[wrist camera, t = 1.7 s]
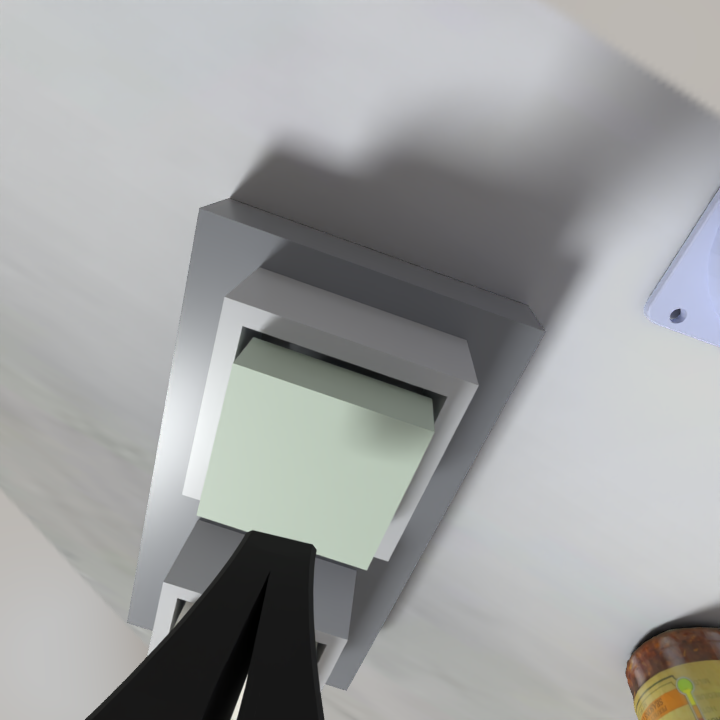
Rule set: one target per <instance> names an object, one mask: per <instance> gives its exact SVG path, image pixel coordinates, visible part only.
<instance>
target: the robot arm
mask: <svg viewBox="0 0 720 720" xmlns="http://www.w3.org/2000/svg"><path fill="white" fill-rule="evenodd" d="M676 309H681V312H680V315H679V316H678V317H677V318H675V319H670V318H669V317H670V314H671V313H672V312H673V311H674V310H676ZM644 314H645V316H646V318H647V319H649V320H650V321H651V322H653V323H655V324H657V325H660V326H663V327H665V328H668V329H671V330H674V331H676V332H679V333H682V334H685V335H687V336H690V337H693V338H696V339H698V340H701V341H704V342H707V343H709V344H712V345H715V346H718V347H720V188H719V190H718V191H717V193H716V194H715V196H714V197H713V199H712V201H711V202H710V204H709V205H708V207H707V208H706V210H705V212H704V213H703V215H702V216H701V218H700V219H699V221H698V222H697V224H696V226H695V227H694V229H693V230H692V232H691V233H690V235H689V237H688V238H687V240H686V241H685V243H684V244H683V246H682V247H681V249H680V251H679V252H678V254H677V255H676V257H675V258H674V260H673V262H672V263H671V265H670V266H669V268H668V269H667V271H666V272H665V274H664V276H663V277H662V279H661V280H660V282H659V283H658V285H657V287H656V288H655V290H654V291H653V293H652V294H651V296H650V297H649V299H648V301H647V302H646V304H645V307H644ZM316 552H317V549H316V548H315V547H314V546H313V544H309V543H305V542H301V541H297V540H292V539H288V538H284V537H280V536H276V535H271V534H267V533H263V532H259V531H255V530H251V531H249V532H247V533H246V534H245V536H244V537H243V539H242V541H241V542H240V544H239V545H238V547H237V548H236V550H235V551H234V553H233V554H232V556H231V557H230V559H229V560H228V561H227V563H226V564H225V565H224V567H223V568H222V569H221V571H220V572H219V573H218V575H217V576H216V577H215V579H214V580H213V581H212V582H211V584H210V585H209V586H208V588H207V589H206V590H205V591H204V592H203V594H202V595H201V596H200V597H199V598H198V600H197V601H196V602H195V603H194V604H193V606H192V607H191V608H190V609H189V610H188V612H187V613H186V614H185V615H184V616H183V618H182V619H181V620H180V621H179V622H178V623H177V625H176V626H175V627H174V628H173V629H172V630H171V631H170V633H169V634H168V635H167V636H166V637H165V638H164V639H163V640H162V641H161V642H160V643H159V644H158V645H157V647H156V648H155V649H154V650H153V651H152V652H151V653H150V654H149V655H148V656H147V657H146V658H145V660H144V661H143V662H142V663H141V664H140V665H139V666H138V667H137V668H136V669H135V670H134V671H133V672H132V673H131V675H130V676H129V677H128V678H127V679H126V680H125V681H124V682H123V683H122V684H121V685H120V686H119V687H118V688H117V689H116V690H115V691H114V692H113V693H112V694H111V695H110V696H109V697H108V698H107V699H106V700H105V701H104V702H103V703H102V704H101V705H100V706H99V707H98V708H97V709H95V710H94V711H93V713H91V714H90V715H89V716H88V717H87V718H86V719H85V720H231V717H232V715H233V712H234V710H235V707H236V704H237V702H238V699H239V696H240V694H241V691H242V688H243V686H244V683H245V680H246V678H247V681H246V686H245V690H244V693H243V697H242V701H241V705H240V709H239V713H238V717H237V720H324V714H323V707H322V699H321V692H320V683H319V675H318V665H317V653H316V641H315V628H314V598H313V588H314V567H315V558H316ZM247 675H248V676H247Z"/></svg>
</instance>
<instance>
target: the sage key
mask: <svg viewBox="0 0 720 720" xmlns="http://www.w3.org/2000/svg"><path fill="white" fill-rule="evenodd" d="M434 433H435V428H434V415H433V402H432V398H429V397H426V396H423V395H420V394H417V393H414V392H412V391H409V390H406V389H403V388H400V387H397V386H394V385H391V384H388V383H385V382H383V381H380V380H377V379H374V378H371V377H368V376H365V375H362V374H359V373H356V372H354V371H351V370H348V369H345V368H342V367H339V366H336V365H333V364H330V363H327V362H325V361H322V360H319V359H316V358H313V357H310V356H307V355H304V354H301V353H298V352H296V351H293V350H290V349H287V348H284V347H281V346H278V345H275V344H272V343H269V342H267V341H264V340H261V339H258V338H255V337H253V338H252V339H251V341H250V342H249V343H248V345H247V346H246V347H245V348H244V350H243V351H242V352H241V353H240V355H239V356H238V357H237V358H236V360H235V361H234V362H233V365H232V369H231V373H230V377H229V381H228V385H227V390H226V394H225V398H224V402H223V406H222V411H221V415H220V419H219V423H218V427H217V431H216V436H215V440H214V444H213V448H212V452H211V457H210V461H209V465H208V469H207V473H206V477H205V482H204V486H203V490H202V494H201V498H200V503H199V507H198V511H197V516H200V517H203V518H206V519H209V520H212V521H215V522H218V523H221V524H225V525H228V526H231V527H234V528H237V529H240V530H243V531H246V532H249V531H251V530H255V531H259V532H263V533H267V534H271V535H276V536H280V537H284V538H288V539H292V540H297V541H301V542H305V543H309V544H313V546H314V547H315V548H316V549H317V552H316V554H317V555H321V556H324V557H327V558H330V559H333V560H336V561H339V562H342V563H345V564H348V565H351V566H355V567H358V568H361V569H364V570H367V569H368V567H369V565H370V563H371V561H372V559H373V557H374V555H375V553H376V551H377V549H378V547H379V545H380V543H381V541H382V539H383V537H384V534H385V532H386V530H387V528H388V526H389V524H390V522H391V520H392V518H393V516H394V514H395V512H396V510H397V508H398V506H399V504H400V502H401V500H402V498H403V496H404V494H405V492H406V490H407V488H408V486H409V484H410V482H411V480H412V477H413V475H414V473H415V471H416V469H417V467H418V465H419V463H420V461H421V459H422V457H423V455H424V453H425V451H426V449H427V447H428V445H429V443H430V441H431V439H432V437H433V435H434Z"/></svg>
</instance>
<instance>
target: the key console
mask: <svg viewBox="0 0 720 720" xmlns="http://www.w3.org/2000/svg"><path fill="white" fill-rule="evenodd" d="M545 332H546V331H545V330H544V329H543V327H542V326H541V324H540V323H539V321H538V320H537V318H536V317H535V315H534V314H533V312H532V311H531V310H530V308H529V307H528V306H527V305H525V304H522V303H519V302H516V301H514V300H511V299H508V298H505V297H502V296H500V295H497V294H494V293H491V292H489V291H486V290H483V289H480V288H477V287H475V286H472V285H469V284H466V283H463V282H461V281H458V280H455V279H452V278H450V277H447V276H444V275H441V274H438V273H436V272H433V271H430V270H427V269H424V268H422V267H419V266H416V265H413V264H411V263H408V262H405V261H402V260H399V259H397V258H394V257H391V256H388V255H386V254H383V253H380V252H377V251H374V250H372V249H369V248H366V247H363V246H360V245H358V244H355V243H352V242H349V241H347V240H344V239H341V238H338V237H335V236H333V235H330V234H327V233H324V232H322V231H319V230H316V229H313V228H310V227H308V226H305V225H302V224H299V223H296V222H294V221H291V220H288V219H285V218H283V217H280V216H277V215H274V214H271V213H269V212H266V211H263V210H260V209H258V208H255V207H252V206H249V205H246V204H244V203H241V202H238V201H235V200H232V199H230V198H228V199H225V200H222V201H219V202H216V203H213V204H210V205H207V206H204V207H201V208H199V213H198V219H197V225H196V230H195V236H194V242H193V248H192V253H191V259H190V265H189V271H188V276H187V282H186V288H185V293H184V299H183V305H182V311H181V316H180V322H179V328H178V334H177V339H176V345H175V351H174V357H173V362H172V368H171V374H170V380H169V385H168V391H167V397H166V402H165V408H164V414H163V420H162V425H161V431H160V437H159V443H158V448H157V454H156V460H155V466H154V471H153V477H152V483H151V489H150V494H149V500H148V506H147V511H146V517H145V523H144V529H143V534H142V540H141V546H140V552H139V557H138V563H137V569H136V575H135V580H134V586H133V592H132V597H131V603H130V609H129V615H128V620H127V623H129V624H132V625H136V626H139V627H142V628H145V629H149V630H152V631H153V632H152V637H151V641H150V646H149V651H148V655H149V654H150V653H151V652H152V651H153V650H154V649H155V648H156V647H157V645H158V644H159V643H160V642H161V641H162V640H163V639H164V638H165V637H166V636H167V635H168V634H169V633H170V631H171V630H172V629H173V628H174V626H175V623H176V621H177V619H178V617H179V615H180V613H181V611H182V609H183V607H184V605H185V603H186V601H188V602H191V603H195V602H196V601H197V600H198V598H199V597H200V596H201V595H202V594H203V592H204V591H205V590H206V589H207V588H208V586H209V585H210V584H211V582H212V581H213V580H214V579H215V577H216V576H217V575H218V573H219V572H220V571H221V569H222V568H223V567H224V565H225V564H226V563H227V561H228V560H229V559H230V557H231V556H232V554H233V553H234V551H235V550H236V548H237V547H238V545H239V544H240V542H241V541H242V539H243V537H244V536H245V534H246V533H247V532H246V531H243V530H240V529H237V528H234V527H231V526H228V525H225V524H221V523H218V522H215V521H212V520H209V519H206V518H203V517H200V516H197V511H198V507H199V503H200V498H201V494H202V490H203V486H204V482H205V477H206V473H207V469H208V465H209V461H210V457H211V452H212V448H213V444H214V440H215V436H216V431H217V427H218V423H219V419H220V415H221V411H222V406H223V402H224V398H225V394H226V390H227V385H228V381H229V377H230V373H231V369H232V365H233V362H234V361H235V360H236V358H237V357H238V356H239V355H240V353H241V352H242V351H243V350H244V348H245V347H246V346H247V345H248V343H249V342H250V341H251V339H252V338H253V337H255V338H258V339H261V340H264V341H267V342H269V343H272V344H275V345H278V346H281V347H284V348H287V349H290V350H293V351H296V352H298V353H301V354H304V355H307V356H310V357H313V358H316V359H319V360H322V361H325V362H327V363H330V364H333V365H336V366H339V367H342V368H345V369H348V370H351V371H354V372H356V373H359V374H362V375H365V376H368V377H371V378H374V379H377V380H380V381H383V382H385V383H388V384H391V385H394V386H397V387H400V388H403V389H406V390H409V391H412V392H414V393H417V394H420V395H423V396H426V397H429V398H432V402H433V415H434V428H435V433H434V435H433V437H432V439H431V441H430V443H429V445H428V447H427V449H426V451H425V453H424V455H423V457H422V459H421V461H420V463H419V465H418V467H417V469H416V471H415V473H414V475H413V477H412V480H411V482H410V484H409V486H408V488H407V490H406V492H405V494H404V496H403V498H402V500H401V502H400V504H399V506H398V508H397V510H396V512H395V514H394V516H393V518H392V520H391V522H390V524H389V526H388V528H387V530H386V532H385V534H384V537H383V539H382V541H381V543H380V545H379V547H378V549H377V551H376V553H375V555H374V557H373V559H372V561H371V563H370V565H369V567H368V569H367V570H364V569H361V568H358V567H355V566H351V565H348V564H345V563H342V562H339V561H336V560H333V559H330V558H327V557H324V556H321V555H317V554H316V558H315V567H314V588H313V598H314V628H315V641H316V642H318V644H317V649H316V653H317V665H318V675H319V683H320V692H321V691H322V689H323V687H324V685H325V684H327V685H330V686H333V687H336V688H340V689H343V690H346V691H347V689H348V687H349V685H350V684H351V682H352V680H353V678H354V676H355V675H356V673H357V671H358V669H359V667H360V666H361V664H362V662H363V660H364V658H365V657H366V655H367V653H368V651H369V649H370V647H371V646H372V644H373V642H374V640H375V638H376V637H377V635H378V633H379V631H380V629H381V628H382V626H383V624H384V622H385V620H386V619H387V617H388V615H389V613H390V611H391V610H392V608H393V606H394V604H395V602H396V601H397V599H398V597H399V595H400V593H401V592H402V590H403V588H404V586H405V584H406V583H407V581H408V579H409V577H410V575H411V574H412V572H413V570H414V568H415V566H416V565H417V563H418V561H419V559H420V557H421V556H422V554H423V552H424V550H425V548H426V547H427V545H428V543H429V541H430V539H431V538H432V536H433V534H434V532H435V530H436V529H437V527H438V525H439V523H440V521H441V520H442V518H443V516H444V514H445V512H446V511H447V509H448V507H449V505H450V503H451V502H452V500H453V498H454V496H455V494H456V493H457V491H458V489H459V487H460V485H461V484H462V482H463V480H464V478H465V476H466V475H467V473H468V471H469V469H470V467H471V466H472V464H473V462H474V460H475V458H476V457H477V455H478V453H479V451H480V449H481V448H482V446H483V444H484V442H485V440H486V439H487V437H488V435H489V433H490V431H491V430H492V428H493V426H494V424H495V422H496V420H497V419H498V417H499V415H500V413H501V411H502V410H503V408H504V406H505V404H506V402H507V401H508V399H509V397H510V395H511V393H512V392H513V390H514V388H515V386H516V384H517V383H518V381H519V379H520V377H521V375H522V374H523V372H524V370H525V368H526V366H527V365H528V363H529V361H530V359H531V357H532V356H533V354H534V352H535V350H536V348H537V347H538V345H539V343H540V341H541V339H542V338H543V336H544V334H545ZM148 655H147V656H148Z"/></svg>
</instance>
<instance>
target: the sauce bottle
mask: <svg viewBox="0 0 720 720" xmlns="http://www.w3.org/2000/svg"><path fill="white" fill-rule="evenodd" d="M626 677H627V679H628V684H629V687H630V690H631V693H632V695H633V699H634V708H635V712H636V715H637V717H638V720H720V629H719V628H710V627H693V628H681V629H671V630H667V631H665V632H663V633H660V634H659V635H657V636H654V637H653V638H651V639H650V640H647V641H646V642H644V643H643V644H642V645H641V646H640V647H638V648H637V649H636V650H635V651H634V652H633V653H632V655H631V657H630V660H628V661H627V668H626Z"/></svg>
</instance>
